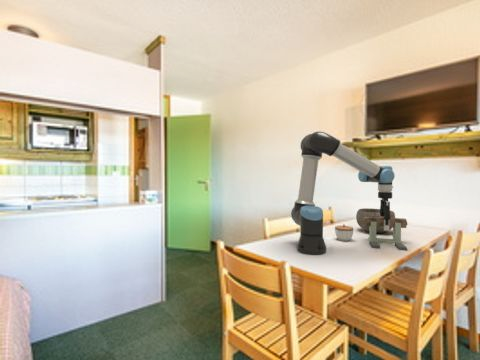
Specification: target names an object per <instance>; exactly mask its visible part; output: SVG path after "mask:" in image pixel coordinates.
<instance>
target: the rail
mask: <svg viewBox="0 0 480 360" xmlns="http://www.w3.org/2000/svg"><path fill="white" fill-rule="evenodd" d="M371 221H372V222H376V227H384V220H383V218H380V217H364V220H363V223H364V225H365V226H371ZM395 223H401V229H407V226H408V221H407V219H406V218H401V217H400V218H399V217H395V218H390V219H389V227H395Z"/></svg>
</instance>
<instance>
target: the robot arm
mask: <svg viewBox="0 0 480 360" xmlns="http://www.w3.org/2000/svg"><path fill="white" fill-rule="evenodd" d="M300 150H301V157H302V160H303V161H302V167H301V168H302V169H301V174H300V181H299V189H298V196H297V199H296V200H295V201H294V206H293V207H292V208H291V212H290V217H291V220H292V221H293V222H294V223H295V224H296V225H298V226H300V229H299V230H300V232H299V233H300V234H299V235H300V236H299V239H298V242H297V246H296V249H297V251H298V252H300V253H301V254H306V255H313V256H314V255H316V256H317V255H323V254H324V255H325V253H327V245H326V242H325V239H324V237H323V236H324V211H323V208H321V207H320V206H316V203H314V195H315V188H316V180H317V172H318V168H319V167H318V166H319V161H320V160H321V159H322V158H323V154H325V155H327V156H329V157H334V158H336V159H338V160H339V161H341V162H343V163H344V164H347V165H348V166H350V167H352V168H353V169H355V170H357V171H358V174H357V177H358V181H360V182H362V183H377V192H378V193H377V197H378V199H379V201H380V206H379V209H380V216H381V218H383V220H384V231H387V232H389V231H390V230H389V219H390V211H391V208H390V207H391V202H390V201H389V199H393V192H392V191H393V188H394V185H393V181H394V179H395V173H394V171H393V167H392V166H391V165H378V164H377V163H375V162H373V161H372V160H370V159H368V158H366V157H365V156H363V155H361V154H360V153H358V152H356V151H354V150H353V149H351V148H350V147H348V146H346V145H345V144H343V143H341V140H340V139H338V138H336V137H334V136H333V135H331V134H329V133H327V132H325V131H314V132H313V133H309V134H307V135H305V136H304V137H303V138H302V140H301V141H300Z"/></svg>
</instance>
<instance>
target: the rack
mask: <svg viewBox="0 0 480 360" xmlns="http://www.w3.org/2000/svg"><path fill="white" fill-rule="evenodd" d="M368 232H369V233H368V234H369V235H368V236H369V237H368V238H367V239H368V242H369V241H375V242H378V243H387V244H390V243H391V244H395V243H403V241H402V228H401V223H395V227H393V228H392V238H384V237H383V238H382V237H377V232H376V222H372V221H371V226H369V231H368Z"/></svg>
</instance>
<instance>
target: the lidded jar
mask: <svg viewBox="0 0 480 360" xmlns="http://www.w3.org/2000/svg"><path fill="white" fill-rule="evenodd" d="M334 233H335V236H336V238H337V239H338V240H339V241H343V242H348V241H350V240H351V239H352V238H353V235H354V227H353V226H351V225H350V226H349V225H346V224H343V225H335V226H334Z"/></svg>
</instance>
